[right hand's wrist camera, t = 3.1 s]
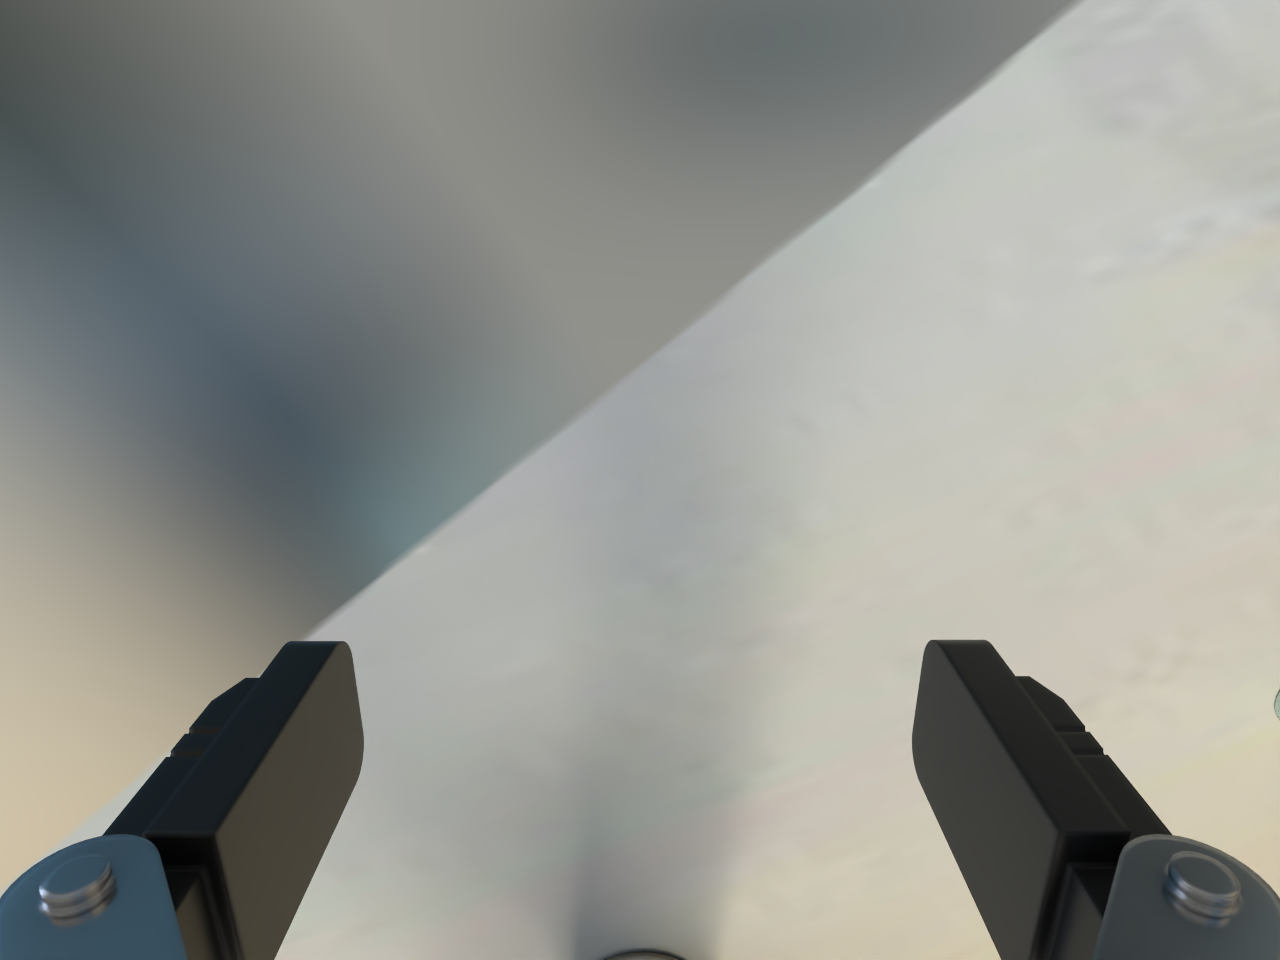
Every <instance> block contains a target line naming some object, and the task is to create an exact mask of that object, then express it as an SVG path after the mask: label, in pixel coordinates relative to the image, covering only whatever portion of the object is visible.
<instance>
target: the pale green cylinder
mask: <svg viewBox="0 0 1280 960" xmlns="http://www.w3.org/2000/svg"><path fill="white" fill-rule="evenodd" d="M1275 711H1276V714H1277V716H1278V718H1279V719H1280V692H1279V694H1278V696H1277V698H1276V702H1275Z"/></svg>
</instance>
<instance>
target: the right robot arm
mask: <svg viewBox="0 0 1280 960" xmlns="http://www.w3.org/2000/svg"><path fill="white" fill-rule="evenodd" d="M363 750H364V736H363V728H362V721H361V714H360V707H359V700H358V693H357V686H356V679H355V672H354V665H353V658H352V653H351V650H350V648H349V646H348V644H347V643H346V642H343V641H290V642H288V643H286V644H285V645H284V646H283V647H282V649H281V650H280V651H279V653H278V654H277V655H276V657H275V658H274V659H273V661H272V662H271V663H270V665H269V666H268V667H267V669H266V670H265V671H264V672H263V674H262V675H261V676H260V678H245V679H243V680H242V681H241V682H239V683H238V684H236V685H235V686H233V687H232V688H230V689H229V690H227V691H226V692H224V693H223V694H221V695H220V696H218V697H217V698H215V699H214V700H212V701H211V702H210V704H209V705H208V706H207V707H206V709H205V710H204V711H203V712H202V714H201V715H200V716H199V717H198V718H197V720H196V721H195V722H194V723H193V725H192V726H191V727H190V728H189V734H184V736H183V737H182V738H181V739H180V741H179V742H178V743H177V744H176V745H175V747H174V748H173V749H172V750H171V756H170V757H166V758H165V759H164V760H163V761H162V763H161V764H160V765H159V766H158V768H157V769H156V770H155V771H154V773H153V774H152V775H151V776H150V777H149V779H148V780H147V781H146V782H145V784H144V785H143V786H142V787H141V789H140V790H139V791H138V792H137V793H136V795H135V796H134V797H133V798H132V800H131V801H130V802H129V803H128V805H127V806H126V807H125V808H124V809H123V811H122V812H121V813H120V814H119V816H118V817H117V818H116V819H115V821H114V822H113V823H112V824H111V825H110V827H109V828H108V829H107V830H106V832H105V833H104V834H103V835H102V836H100V837H96V838H92V839H88V840H84V841H82V842H79V843H76V844H73V845H71V846H68V847H66V848H64V849H62V850H59V851H57V852H56V853H54V854H52V855H50V856H48V857H46V858H45V859H43V860H42V861H40V862H38V863H37V864H35V865H34V866H32V867H31V868H30V869H29V870H27V871H26V872H25V873H23V874H22V875H21V876H20V877H19V878H18V879H17V880H16V881H15V882H14V883H13V884H11V886H10V887H9V888H8V889H7V890H6V892H5V893H4V894H3V895H2V897H1V898H0V960H274V959H275V957H276V954H277V952H278V950H279V948H280V946H281V944H282V942H283V939H284V937H285V935H286V933H287V931H288V929H289V927H290V924H291V922H292V920H293V918H294V916H295V914H296V912H297V909H298V907H299V905H300V903H301V901H302V899H303V896H304V894H305V892H306V890H307V888H308V886H309V884H310V881H311V879H312V877H313V875H314V873H315V871H316V869H317V866H318V864H319V862H320V860H321V858H322V856H323V854H324V851H325V849H326V847H327V845H328V843H329V841H330V839H331V836H332V834H333V832H334V830H335V828H336V826H337V823H338V821H339V819H340V817H341V815H342V813H343V811H344V808H345V806H346V804H347V802H348V800H349V798H350V796H351V793H352V791H353V789H354V787H355V785H356V782H357V780H358V777H359V774H360V770H361V765H362V760H363ZM912 750H913V759H914V765H915V769H916V773H917V776H918V779H919V781H920V784H921V786H922V788H923V790H924V792H925V795H926V797H927V799H928V801H929V803H930V805H931V808H932V810H933V812H934V814H935V816H936V818H937V821H938V823H939V825H940V827H941V829H942V831H943V834H944V836H945V838H946V840H947V842H948V845H949V847H950V849H951V851H952V853H953V855H954V858H955V860H956V862H957V864H958V866H959V868H960V871H961V873H962V875H963V877H964V879H965V881H966V884H967V886H968V888H969V890H970V892H971V895H972V897H973V899H974V901H975V903H976V905H977V908H978V910H979V912H980V914H981V916H982V918H983V921H984V923H985V925H986V927H987V929H988V931H989V934H990V936H991V938H992V940H993V942H994V945H995V947H996V949H997V951H998V953H999V955H1000V958H1001V960H1280V898H1279V897H1278V895H1277V894H1276V893H1275V892H1274V890H1273V889H1272V888H1271V887H1270V886H1269V884H1267V883H1266V882H1265V881H1264V880H1263V879H1262V878H1261V877H1260V876H1259V875H1258V874H1257V873H1255V872H1254V871H1253V870H1251V869H1250V868H1249V867H1248V866H1246V865H1245V864H1243V863H1242V862H1240V861H1238V860H1237V859H1235V858H1234V857H1232V856H1230V855H1228V854H1226V853H1224V852H1223V851H1221V850H1218V849H1216V848H1214V847H1212V846H1209V845H1207V844H1204V843H1201V842H1198V841H1196V840H1192V839H1188V838H1184V837H1180V836H1174V835H1172V834H1171V833H1170V831H1169V830H1168V829H1167V828H1166V826H1165V825H1164V824H1163V823H1162V821H1161V820H1160V819H1159V818H1158V816H1157V815H1156V814H1155V813H1154V811H1153V810H1152V809H1151V808H1150V807H1149V805H1148V804H1147V803H1146V802H1145V800H1144V799H1143V798H1142V797H1141V795H1140V794H1139V793H1138V792H1137V790H1136V789H1135V788H1134V787H1133V785H1132V784H1131V783H1130V782H1129V780H1128V779H1127V778H1126V777H1125V775H1124V774H1123V773H1122V772H1121V771H1120V769H1119V768H1118V767H1117V766H1116V764H1115V763H1114V762H1113V761H1112V759H1111V758H1110V757H1109V756H1108V755H1104V753H1103V748H1102V747H1101V746H1100V744H1099V743H1098V742H1097V741H1096V739H1095V738H1094V737H1093V736H1092V734H1091V733H1090V732H1086V731H1085V726H1084V725H1083V723H1082V722H1081V721H1080V720H1079V718H1078V717H1077V716H1076V715H1075V713H1074V712H1073V711H1072V710H1071V708H1070V707H1069V706H1068V705H1067V703H1066V702H1065V701H1064V700H1063V699H1062V698H1060V697H1059V696H1057V695H1056V694H1055V693H1053V692H1052V691H1050V690H1049V689H1047V688H1046V687H1044V686H1043V685H1041V684H1040V683H1038V682H1037V681H1035V680H1034V679H1033V678H1031V677H1030V676H1015V675H1014V674H1013V672H1012V671H1011V670H1010V668H1009V667H1008V666H1007V664H1006V663H1005V662H1004V660H1003V659H1002V658H1001V656H1000V655H999V654H998V652H997V651H996V650H995V648H994V647H993V646H992V644H991V643H990V642H988V641H986V640H931V641H929V642H928V644H927V645H926V647H925V651H924V655H923V661H922V668H921V675H920V683H919V690H918V697H917V704H916V711H915V718H914V725H913V733H912ZM606 960H678V959H676V958H673V957H670V956H667V955H663V954H657V953H648V952H636V953H627V954H621V955H617V956H614V957H611V958H608V959H606Z"/></svg>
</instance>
